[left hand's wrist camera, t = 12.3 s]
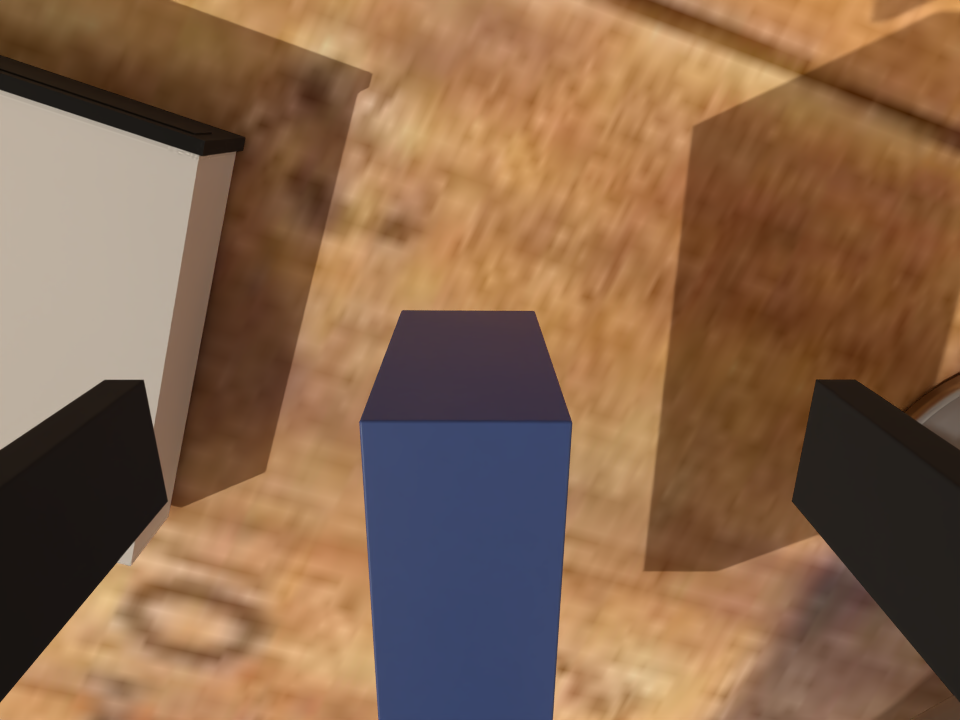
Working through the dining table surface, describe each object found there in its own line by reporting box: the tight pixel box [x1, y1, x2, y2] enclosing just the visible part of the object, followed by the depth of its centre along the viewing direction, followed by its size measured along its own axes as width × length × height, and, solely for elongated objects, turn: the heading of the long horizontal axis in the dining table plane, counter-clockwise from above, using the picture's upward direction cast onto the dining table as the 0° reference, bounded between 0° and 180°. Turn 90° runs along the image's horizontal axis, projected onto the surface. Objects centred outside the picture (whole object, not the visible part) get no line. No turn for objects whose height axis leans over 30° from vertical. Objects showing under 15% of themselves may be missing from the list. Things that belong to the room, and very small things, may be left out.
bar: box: [359, 310, 572, 720], centre depth 23 cm, size 26×5×9 cm, turn 0°
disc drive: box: [0, 55, 245, 566], centre depth 30 cm, size 18×22×5 cm
